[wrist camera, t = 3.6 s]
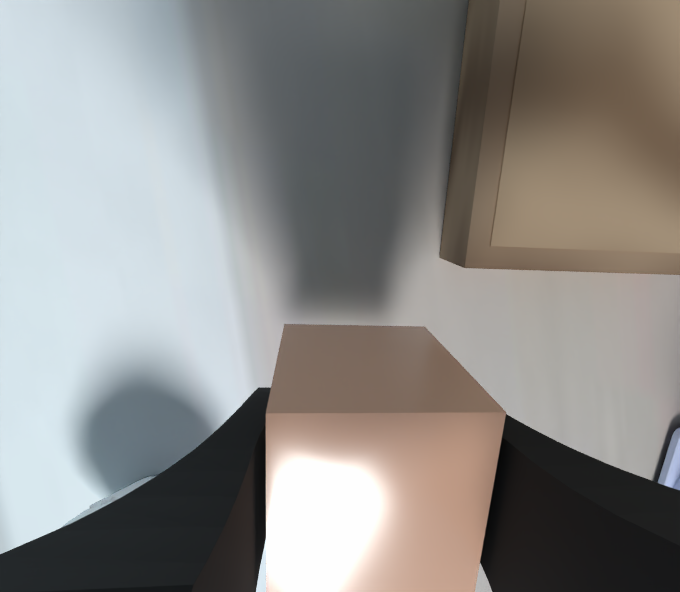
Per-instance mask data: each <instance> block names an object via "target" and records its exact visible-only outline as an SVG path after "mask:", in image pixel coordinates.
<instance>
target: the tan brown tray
mask: <svg viewBox="0 0 680 592" xmlns="http://www.w3.org/2000/svg"><path fill="white" fill-rule="evenodd" d="M440 258H442V259H444V260H447V261H449V262H451V263H454V264H456V265H459V266H461V267H464V268H483V269H514V270H545V271H576V272H607V273H638V274H669V275H680V0H469V4H468V13H467V22H466V30H465V39H464V48H463V57H462V65H461V74H460V83H459V92H458V100H457V109H456V118H455V127H454V135H453V144H452V153H451V162H450V170H449V179H448V188H447V197H446V205H445V214H444V223H443V232H442V240H441V249H440Z"/></svg>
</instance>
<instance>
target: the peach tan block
mask: <svg viewBox="0 0 680 592" xmlns="http://www.w3.org/2000/svg"><path fill="white" fill-rule="evenodd" d="M505 417H506V412H505V411H504V410H503V408H502V407H501V406H500V405H499V404H498V403H497V402H496V401H495V400H494V399H493V398H492V397H491V396H490V395H489V394H488V393H487V392H486V391H485V390H484V388H483V387H482V386H481V385H480V384H479V383H478V382H477V381H476V380H475V379H474V378H473V377H472V376H471V375H470V374H469V373H468V372H467V371H466V370H465V369H464V367H463V366H462V365H461V364H460V363H459V362H458V361H457V360H456V359H455V358H454V357H453V356H452V355H451V354H450V353H449V352H448V351H447V350H446V349H445V347H444V346H443V345H442V344H441V343H440V342H439V341H438V340H437V339H436V338H435V337H434V336H433V335H432V334H431V333H430V332H429V331H428V330H427V329H426V327H414V326H359V325H305V324H284V329H283V333H282V338H281V343H280V348H279V352H278V357H277V362H276V367H275V371H274V376H273V381H272V386H271V391H270V395H269V400H268V405H267V410H266V592H475V587H476V581H477V575H478V570H479V564H480V558H481V553H482V547H483V541H484V536H485V530H486V524H487V519H488V513H489V507H490V502H491V496H492V490H493V485H494V479H495V473H496V468H497V462H498V456H499V451H500V445H501V439H502V434H503V428H504V422H505Z"/></svg>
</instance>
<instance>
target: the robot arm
mask: <svg viewBox="0 0 680 592" xmlns="http://www.w3.org/2000/svg"><path fill="white" fill-rule="evenodd" d="M270 391H271V388H258V389H257V390H256V391H254V393H253V394H252V395H251V396H250V397H249V398H248V399H247V400H246V401H245V402H244V403H243V405H242V406H241V407H240V408H239V409H238V410H237V411H236V412H235V413H234V414H233V415H232V416H231V417H230V418H229V419H228V420H227V421H226V422H225V423H224V424H223V425H222V426H221V427H220V428H219V429H218V430H216V431H215V432H214V433H213V434H212V435H211V436H210V437H208V438H207V439H206V440H205V441H204V442H203V443H202V444H201V445H199V446H198V447H197V448H196V449H194V450H193V451H192V452H190V453H189V454H188V455H186V456H185V457H184V458H182V459H181V460H180V461H178V462H177V463H175V464H174V465H173V466H171V467H170V468H168V469H167V470H165V471H164V472H162V473H161V474H159V475H157V476H156V477H154V478H152V479H151V480H149V481H147V482H146V483H144V484H143V485H141V486H139V487H138V488H136V489H134V490H133V491H131V492H130V493H128V494H126V495H124V496H123V497H121V498H119V499H117V500H115V501H114V502H112V503H110V504H108V505H106V506H104V507H102V508H100V509H99V510H97V511H95V512H93V513H91V514H89V515H87V516H85V517H83V518H81V519H79V520H77V521H75V522H73V523H71V524H68V525H66V526H64V527H62V528H60V529H58V530H56V531H53V532H51V533H49V534H47V535H44V536H42V537H40V538H37V539H35V540H33V541H30V542H28V543H26V544H23V545H21V546H19V547H16V548H14V549H12V550H10V551H7V552H5V553H3V554H0V592H256V586H257V580H258V574H259V569H260V564H261V559H262V554H263V549H264V544H265V539H266V410H267V405H268V400H269V395H270ZM480 563H481V565H482V567H483V570H484V572H485V574H486V576H487V579H488V581H489V584H490V586H491V589H492V592H680V428H678V429H676V430H675V431H674V433H673V435H672V438H671V441H670V445H669V448H668V451H667V454H666V458H665V461H664V464H663V467H662V470H661V474H660V477H659V480H658V483H656V482H654V481H651V480H648V479H645V478H643V477H640V476H637V475H634V474H632V473H629V472H626V471H624V470H621V469H619V468H616V467H614V466H611V465H608V464H606V463H604V462H601V461H599V460H597V459H594V458H592V457H590V456H588V455H585V454H583V453H581V452H578V451H576V450H574V449H572V448H570V447H567V446H565V445H563V444H561V443H559V442H557V441H555V440H553V439H551V438H549V437H547V436H545V435H543V434H541V433H539V432H538V431H536V430H534V429H532V428H530V427H528V426H526V425H524V424H523V423H521V422H519V421H517V420H515V419H514V418H512V417H510V416H508V415H507V414H506V417H505V422H504V428H503V434H502V439H501V445H500V451H499V456H498V462H497V468H496V473H495V479H494V485H493V490H492V496H491V502H490V507H489V513H488V519H487V524H486V530H485V536H484V541H483V547H482V553H481V558H480Z"/></svg>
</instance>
